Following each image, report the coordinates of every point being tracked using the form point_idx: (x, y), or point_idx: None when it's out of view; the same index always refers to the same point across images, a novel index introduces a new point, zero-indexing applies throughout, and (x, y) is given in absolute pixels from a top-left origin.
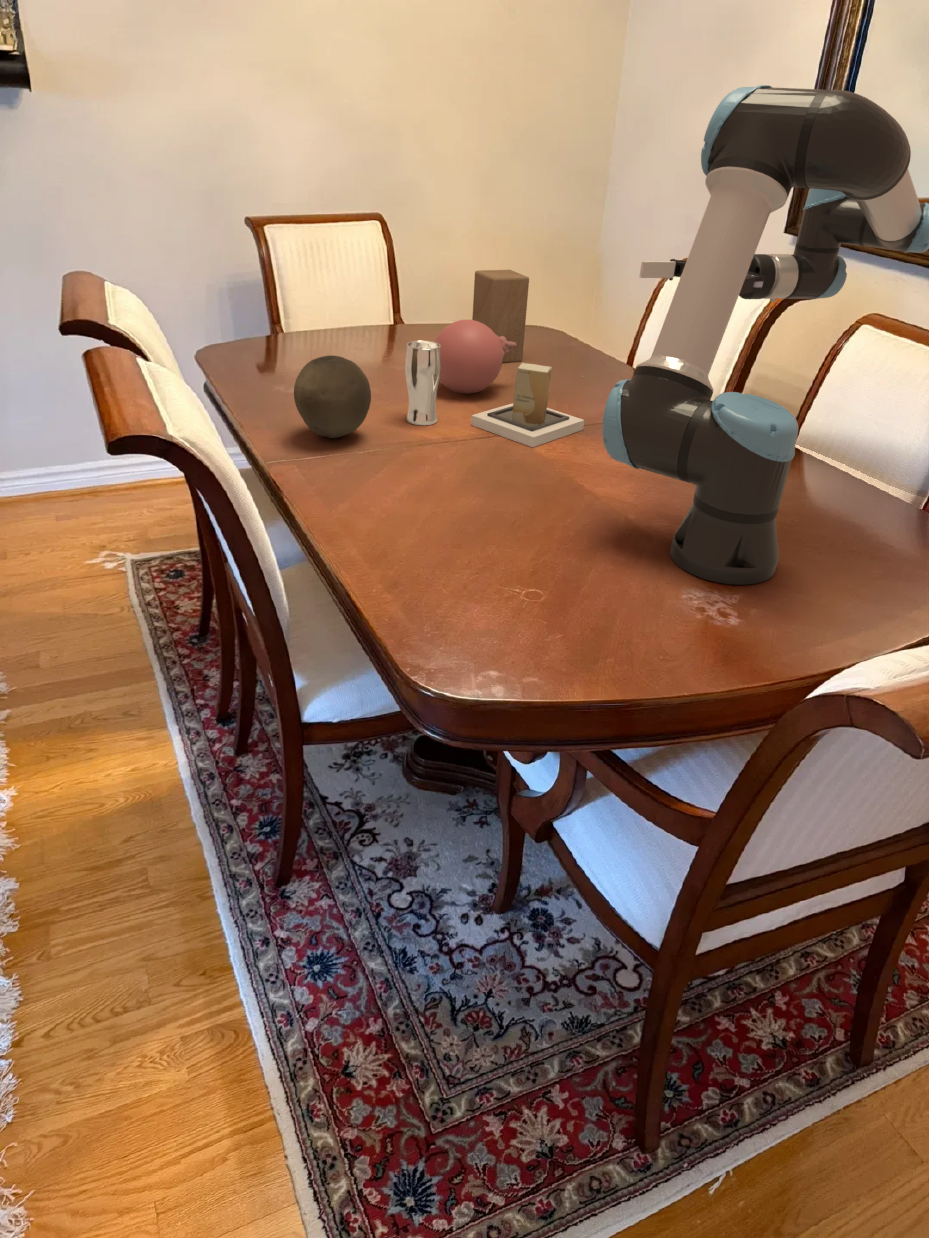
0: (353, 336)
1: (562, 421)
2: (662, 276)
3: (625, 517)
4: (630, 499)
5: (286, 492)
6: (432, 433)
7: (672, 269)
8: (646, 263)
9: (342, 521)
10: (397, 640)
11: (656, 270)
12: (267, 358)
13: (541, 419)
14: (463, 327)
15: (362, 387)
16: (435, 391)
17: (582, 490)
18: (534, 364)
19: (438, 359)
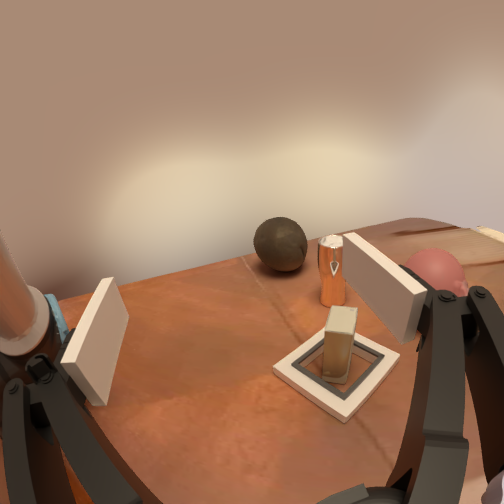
0: (493, 247)
1: (334, 393)
2: (377, 311)
3: (103, 408)
4: (130, 426)
5: (200, 266)
6: (302, 308)
7: (402, 313)
8: (347, 242)
9: (160, 283)
10: (68, 300)
11: (366, 280)
12: (420, 231)
13: (322, 370)
14: (422, 253)
15: (267, 243)
16: (327, 282)
17: (159, 395)
18: (354, 317)
19: (327, 257)
